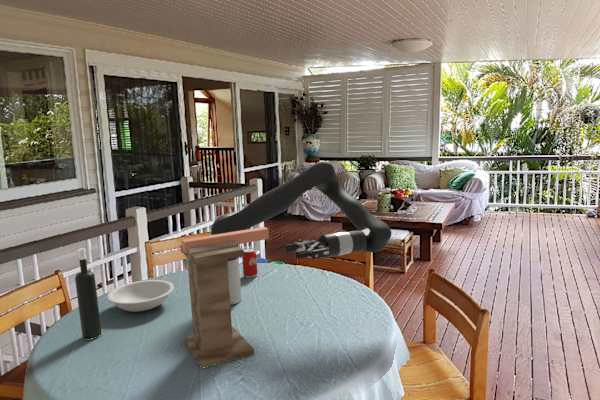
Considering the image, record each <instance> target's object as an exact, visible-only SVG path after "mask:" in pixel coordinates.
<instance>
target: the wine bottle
mask: <svg viewBox="0 0 600 400" xmlns="http://www.w3.org/2000/svg"><path fill="white" fill-rule="evenodd" d="M77 254H78V260H79V267H80V268H79V269H80V272H78V273H76V275H75V278H74V282H75V289H76V296H77V304H78V313H79V320H80V321H79V322H80V329H81V336H82V339H83V338H84V339H91V338H95V337H98V336H99V335H101V333H102V326H101V325H102V324H101V320H100V319H101V316H100V310H99V309H100V308H99V300H98V293H97V292H98V291H97V285H96V284H97V283H96V276H95V274H94V272H92V271H90V270H88V264H87V254H86V249H85V247H81V248H78V250H77ZM101 336H102V335H101ZM84 339H83V340H84Z"/></svg>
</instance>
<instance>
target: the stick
mask: <svg viewBox="0 0 600 400" xmlns="http://www.w3.org/2000/svg"><path fill="white" fill-rule="evenodd" d="M269 236H270V233H269V228H268V227H265V226H263V227H262V226H261V227H254V228H249V229H247V230H241V231H235V232H228V233H222V234H216V235H211V234H209V235H205V236H198V237H191V238H186V239H185V238H184V239H181V245H182V251H183V252H185V253H189V249H191V248H197V247H203V246H209V245H215V244H221V243H227V242H233V241H236V244H238V245H241V244H246V243H247V244H248V243H254V242H259V241H264V240H265V241H266V240H269V239H270V237H269Z"/></svg>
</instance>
